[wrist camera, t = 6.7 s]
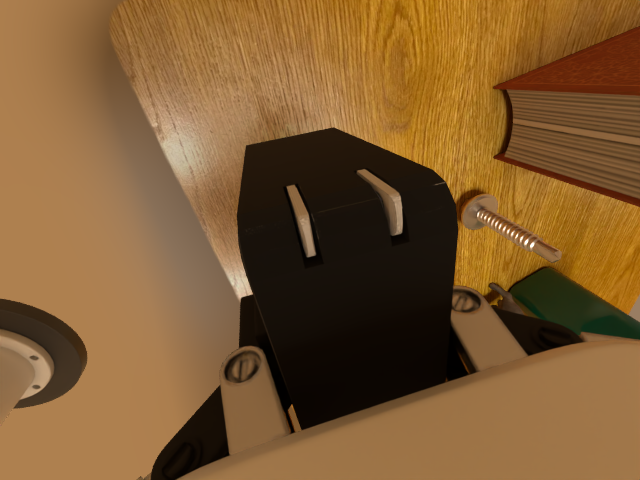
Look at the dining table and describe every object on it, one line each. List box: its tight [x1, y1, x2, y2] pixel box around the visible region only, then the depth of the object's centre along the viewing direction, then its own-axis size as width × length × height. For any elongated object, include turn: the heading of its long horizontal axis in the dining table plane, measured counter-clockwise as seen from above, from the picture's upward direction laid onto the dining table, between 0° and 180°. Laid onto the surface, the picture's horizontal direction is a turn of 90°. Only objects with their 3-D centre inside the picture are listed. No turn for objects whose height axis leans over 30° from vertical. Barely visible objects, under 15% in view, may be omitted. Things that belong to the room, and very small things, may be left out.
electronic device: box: [237, 128, 458, 430], centre depth 12 cm, size 4×10×10 cm, turn 9°
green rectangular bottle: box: [509, 267, 640, 340], centre depth 40 cm, size 10×8×22 cm
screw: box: [460, 193, 562, 263], centre depth 32 cm, size 13×5×5 cm
